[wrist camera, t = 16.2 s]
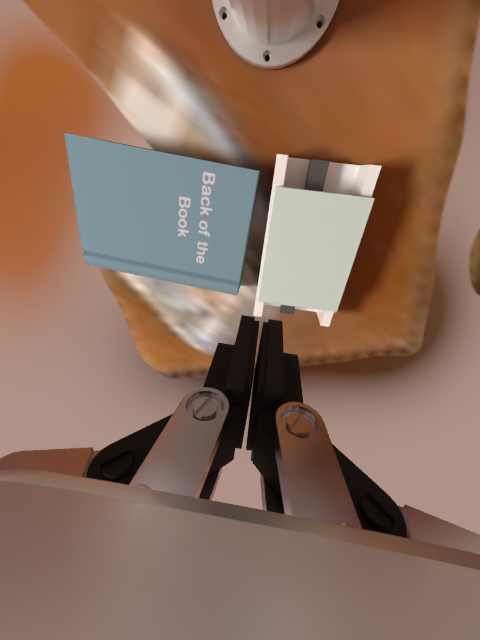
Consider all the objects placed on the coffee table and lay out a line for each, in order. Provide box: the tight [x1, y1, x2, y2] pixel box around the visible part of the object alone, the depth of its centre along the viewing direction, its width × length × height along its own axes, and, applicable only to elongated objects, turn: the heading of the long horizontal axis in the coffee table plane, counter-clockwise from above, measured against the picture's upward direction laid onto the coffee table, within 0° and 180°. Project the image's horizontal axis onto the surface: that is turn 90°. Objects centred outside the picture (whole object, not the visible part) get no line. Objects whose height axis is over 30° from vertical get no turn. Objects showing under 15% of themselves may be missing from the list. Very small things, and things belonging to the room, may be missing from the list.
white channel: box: [253, 154, 382, 327], centre depth 35 cm, size 20×11×5 cm, turn 174°
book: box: [65, 134, 261, 295], centre depth 36 cm, size 23×16×5 cm
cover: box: [259, 186, 375, 312], centre depth 32 cm, size 14×11×1 cm
